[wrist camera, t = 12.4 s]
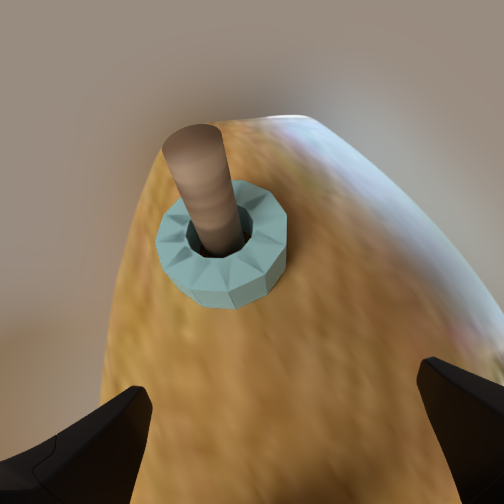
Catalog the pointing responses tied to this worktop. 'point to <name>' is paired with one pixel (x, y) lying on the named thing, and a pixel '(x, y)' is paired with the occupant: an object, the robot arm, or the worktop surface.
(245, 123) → the worktop surface
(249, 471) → the worktop surface
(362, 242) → the worktop surface
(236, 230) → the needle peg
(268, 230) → the bead
